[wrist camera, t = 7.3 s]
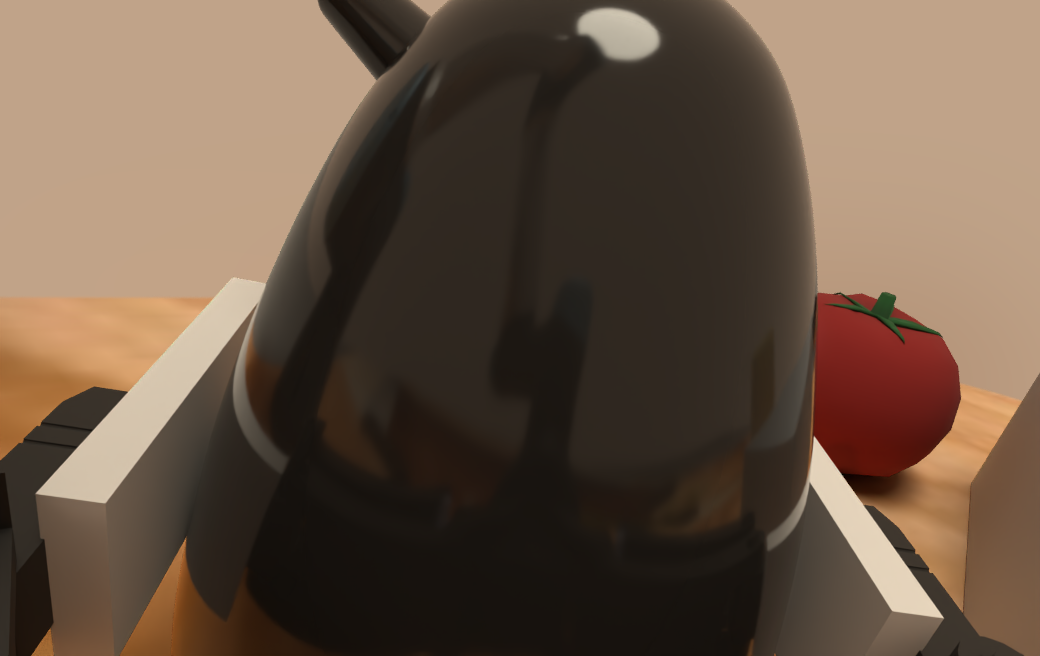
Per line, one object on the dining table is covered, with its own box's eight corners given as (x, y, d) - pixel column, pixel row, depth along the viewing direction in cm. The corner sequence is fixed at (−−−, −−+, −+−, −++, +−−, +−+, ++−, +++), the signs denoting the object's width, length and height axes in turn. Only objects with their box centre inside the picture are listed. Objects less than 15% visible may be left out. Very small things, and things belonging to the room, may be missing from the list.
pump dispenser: (421, 505, 21) (527, -43, 15) (737, 733, 16) (1095, 74, 10) (56, 740, 13) (-61, -229, 7) (466, 1314, 8) (1367, -95, 2)
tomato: (798, 387, 35) (858, 255, 32) (948, 488, 29) (1038, 338, 26) (684, 405, 31) (741, 255, 28) (833, 528, 25) (925, 354, 22)
